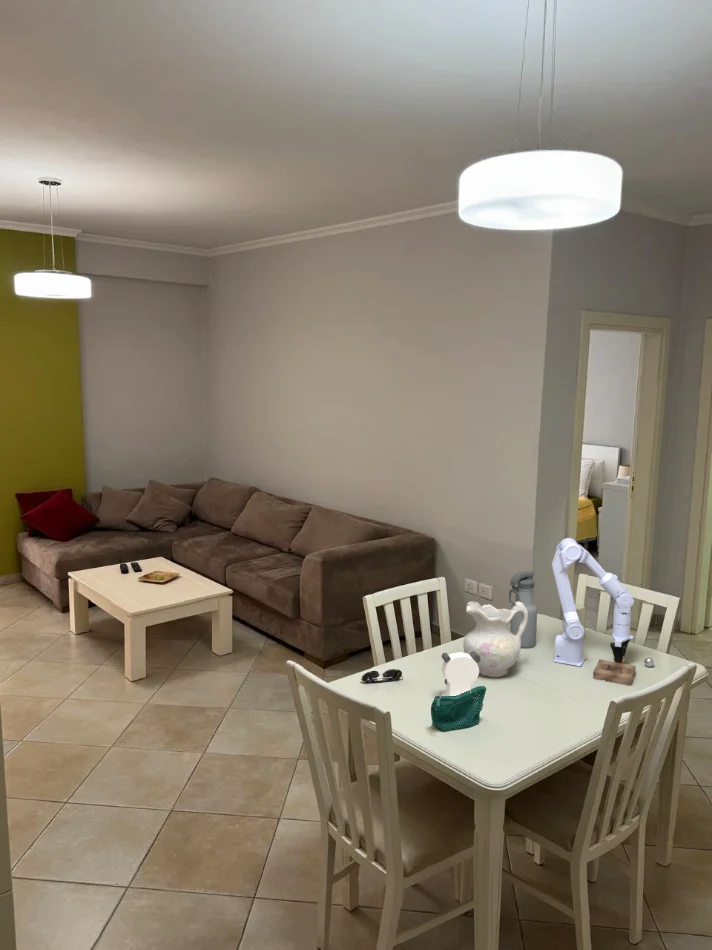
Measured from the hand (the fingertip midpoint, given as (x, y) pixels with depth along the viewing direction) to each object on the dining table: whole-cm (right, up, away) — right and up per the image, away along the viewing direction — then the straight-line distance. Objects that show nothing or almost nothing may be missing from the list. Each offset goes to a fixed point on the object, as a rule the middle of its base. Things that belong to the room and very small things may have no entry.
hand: (619, 659), depth 258 cm
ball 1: (0, 0, 0) cm, 0 cm away
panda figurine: (-61, -6, -28) cm, 68 cm away
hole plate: (-6, -3, -10) cm, 12 cm away
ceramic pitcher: (-46, -2, -6) cm, 46 cm away
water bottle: (-30, +1, +18) cm, 36 cm away
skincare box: (-8, +2, +27) cm, 28 cm away
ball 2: (+9, 0, -3) cm, 10 cm away
